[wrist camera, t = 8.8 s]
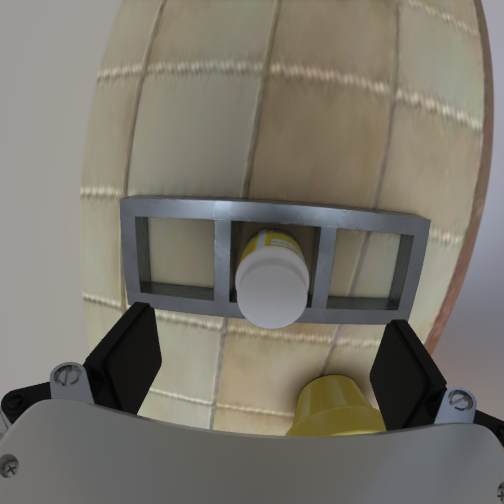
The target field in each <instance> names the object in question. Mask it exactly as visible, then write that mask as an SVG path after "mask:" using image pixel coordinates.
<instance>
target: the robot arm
mask: <svg viewBox="0 0 504 504" xmlns="http://www.w3.org/2000/svg"><path fill="white" fill-rule="evenodd" d="M161 364H162V357H161V351H160V345H159V339H158V332H157V325H156V318H155V310H154V308H153V307H151V306H150V304H149V303H144V302H137V301H136V302H134V303H133V305H132V306H131V307H130V308H129V309H128V310H127V311H126V313H125V314H124V315H123V316H122V317H121V318H120V319H119V321H118V322H117V323H116V324H115V325H114V326H113V327H112V329H111V330H110V331H109V332H108V333H107V334H106V336H105V337H104V338H103V339H102V340H101V342H100V343H99V344H98V345H97V346H96V347H95V349H94V350H93V351H92V352H91V354H90V355H89V356H88V357H87V358H86V361H85V363H84V364H83V365H81V364H78V363H75V362H66V363H63V364H60V365H58V366H57V367H55V368H54V369H53V371H52V372H51V374H50V382H46V383H42V384H38V385H33V386H29V387H25V388H21V389H16V390H13V391H10V392H9V393H7V394H6V395H5V396H4V397H3V399H2V401H1V406H0V504H504V421H502V420H499V419H497V418H495V417H492V416H490V415H488V414H485V413H483V412H481V411H478V410H476V399H475V397H474V396H473V394H472V393H471V392H470V391H468V390H466V389H464V388H461V387H452V388H449V389H447V388H446V386H445V385H446V384H447V382H446V380H445V379H444V377H443V376H442V374H441V372H440V371H439V369H438V368H437V366H436V364H435V363H434V361H433V360H432V358H431V356H430V355H429V353H428V352H427V350H426V349H425V347H424V346H423V344H422V343H421V341H420V340H419V338H418V337H417V335H416V334H415V332H414V331H413V329H412V328H411V326H410V325H409V324H408V322H407V321H406V320H405V319H393V320H391V322H390V323H387V325H386V327H385V331H384V334H383V337H382V340H381V343H380V346H379V349H378V352H377V355H376V358H375V361H374V363H373V366H372V369H371V372H370V382H371V385H372V388H373V391H374V394H375V397H376V400H377V403H378V406H379V409H380V412H381V415H382V418H383V421H384V424H385V428H386V431H382V432H374V433H364V434H352V435H335V436H274V435H257V434H245V433H235V432H226V431H218V430H210V429H203V428H197V427H191V426H185V425H180V424H175V423H170V422H165V421H160V420H156V419H151V418H147V417H143V416H139V415H137V413H138V411H139V409H140V407H141V405H142V403H143V401H144V399H145V397H146V395H147V393H148V391H149V389H150V387H151V385H152V383H153V381H154V379H155V377H156V375H157V373H158V371H159V369H160V367H161Z"/></svg>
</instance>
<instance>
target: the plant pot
mask: <svg viewBox="0 0 504 504" xmlns="http://www.w3.org/2000/svg"><path fill="white" fill-rule="evenodd" d="M382 431H386V428H385V424H384V421H383V418H382V415H381V412H380V411H379V410H377V409H375V408H373V407H372V406H371V404H370V403H369V402H368V400H367V399H366V398H365V396H364V395H363V393H362V392H361V390H360V389H359V388H358V386H357V385H356V383H355V382H354V381H353V380H352V379H351V378H349V377H346V376H343V375H327V376H323V377H320V378H317V379H315V380H313V381H311V382H310V383H308V384H307V385H306V386H305V387H304V388H303V390H302V391H301V393H300V395H299V399H298V403H297V408H296V412H295V417H294V421H293V425H292V427H291V428H290V430H289V431H288V432H287V433H286V435H285V436H335V435H352V434H364V433H374V432H382Z"/></svg>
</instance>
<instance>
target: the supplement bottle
mask: <svg viewBox="0 0 504 504" xmlns="http://www.w3.org/2000/svg"><path fill="white" fill-rule="evenodd" d="M235 285H236V290H237V302H238V306H239V309H240V311H241V312H242V314H243V315H244V317H245V318H246V319H247V320H248V321H250V322H251V323H253V324H255V325H257V326H259V327H262V328H268V329H276V328H282V327H285V326H287V325H290V324H291V323H293V322H294V321H296V320H297V319H298V318H299V317H300V316H301V314H302V313H303V311H304V309H305V307H306V303H307V292H308V289H309V272H308V269H307V266H306V263H305V260H304V257H303V254H302V251H301V248H300V245H299V243H298V242H297V240H296V239H295V238H294V237H293V236H292V235H291V234H290V233H288V232H287V231H285V230H282V229H278V228H268V229H264V230H261V231H259V232H257V233H256V234H255V235H253V236H252V237H251V238H250V239H249V241H248V242H247V244H246V247H245V249H244V252H243V255H242V258H241V260H240V263H239V266H238V269H237V272H236V277H235Z"/></svg>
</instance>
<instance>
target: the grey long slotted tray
mask: <svg viewBox="0 0 504 504" xmlns="http://www.w3.org/2000/svg"><path fill="white" fill-rule="evenodd" d="M147 217H167V218H192V219H213V220H215V238H214V288H203V287H193V286H183V285H173V284H164V283H155V282H151V277H150V263H149V247H148V223H147ZM120 220H121V237H122V251H123V262H124V272H125V281H126V289H127V297H128V304H129V305H133V303H134V302H136V301H137V302H144V303H149V304H150V306H151V307H153V308H154V309H161V310H168V311H176V312H184V313H192V314H201V315H210V316H220V317H230V318H242V319H246V318H245V317H244V315H243V314H242V312H241V311H240V309H239V306H238V302H237V290H233V275H234V242H235V221H249V222H265V223H279V224H294V225H307V226H316V235H315V244H314V253H313V262H312V270H311V279H310V286H309V294H308V295H307V303H306V307H305V309H304V311H303V313H302V314H301V316H300V317H299V318H298V319H297V320H296V321H294V322H300V323H323V324H369V325H387V323H390V322H391V320H393V319H405V320H406V321H407V322H408V320H409V316H410V313H411V309H412V306H413V302H414V299H415V295H416V291H417V287H418V283H419V279H420V275H421V270H422V266H423V261H424V256H425V251H426V246H427V240H428V234H429V228H430V222H431V220H429V219H427V218H424V217H422V216H419V215H415V214H407V213H400V212H392V211H384V210H376V209H367V208H358V207H349V206H339V205H328V204H317V203H305V202H293V201H279V200H263V199H245V198H224V197H196V196H130V197H126V198H122V199H120ZM337 228H343V229H355V230H366V231H376V232H386V233H396V234H402V235H401V241H400V247H399V253H398V258H397V263H396V268H395V273H394V278H393V283H392V287H391V291H390V296H389V299H385V298H354V297H331V296H328V292H329V286H330V279H331V273H332V266H333V259H334V251H335V243H336V235H337Z"/></svg>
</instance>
